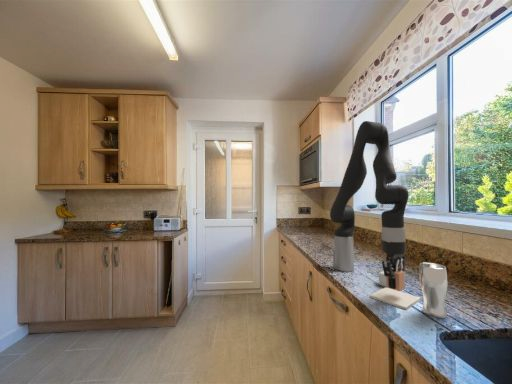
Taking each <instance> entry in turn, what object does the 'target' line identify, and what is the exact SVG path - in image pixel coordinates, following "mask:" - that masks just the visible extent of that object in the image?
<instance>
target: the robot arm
mask: <svg viewBox="0 0 512 384" xmlns="http://www.w3.org/2000/svg"><path fill="white" fill-rule="evenodd" d="M389 135H390V134H389V130H388V127H387V125H386V124H384V123H382V122H381V123H380V122H375V121H369V120H365V121H363V122H362V123H361V124H360V125H359V127H358V129H357V132H356V136H355V140H354V144H353V148H352V152H351V155H350V158H349V162H348V164H347V167H346V169H345V173H344V174H343V178H342V181H341V183H340V186H339V187H340V188H339V190H338V192H337V196H336V197H335V199H334V201H333V203H332V206H331V207H330V211H329V217H330V220H331V222H333V223H335V224H340V225H339V226H338V228H335V229H334V231H333V238H334V239H333V241H334V249H332V264H333V268H334V269H335V270H337V271H339V270H340V272H344V273H345V272H347V273H349V272H353V271H355V257H354V256H355V255H354V254H355V253H354V252H355V251H354V232H355V219H356V217H355V215H356V213H355V209H354V208H353V206H351V205H349V204H348V203H349V201H350V199H351V198H353V197H354V196H355V194H356V193H357V192H359V190H361V188H362V187H363V185H364V183H365V179H366V178H367V177H366V176H367V174H368V172H367V164H366V162H365V158H364V152H365V148H366V145H367V144H370V145H375V147H376V148H377V153H376V155H375V157H374V159H373V162H372V168H373V169H372V170H373V172H374V177H375V192H374V198H375V200H376V202H377V203H378V204H380V205H394V206H393V207H392V209H389V210H384V211H382V212H381V251H382V252H383V253H385V254H386V255H385V256H386V257H385V260H382V261H381V264H382V271H384V276H386V277H388V284H389V288H392V289H395V288H396V278H395V277H396V272H397V271H398V270H399V271H404V272H405V273H406V271H405V269H406V258H407V257H406V256H405V254H407V245H406V244H407V243H406V232H405V218H404V217H405V211H406V209H407V208H406V207H407V205H408V201H409V191H408V188H407V187H406V186H404V185H402V184H398V185H397V184H394V185H393V184H392V183H394V182H396V180H397V172H396V169H395V167H394V163H393V159H392V155H391V147H390V146H391V144H390V136H389ZM389 184H390V185H389ZM391 184H392V185H391ZM392 271H393V272H392Z"/></svg>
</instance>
